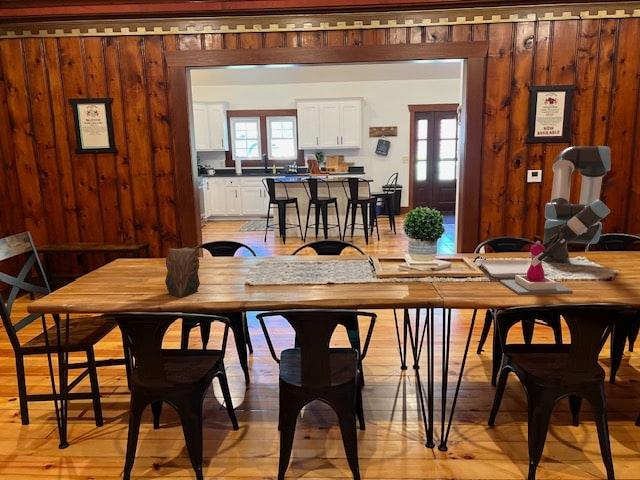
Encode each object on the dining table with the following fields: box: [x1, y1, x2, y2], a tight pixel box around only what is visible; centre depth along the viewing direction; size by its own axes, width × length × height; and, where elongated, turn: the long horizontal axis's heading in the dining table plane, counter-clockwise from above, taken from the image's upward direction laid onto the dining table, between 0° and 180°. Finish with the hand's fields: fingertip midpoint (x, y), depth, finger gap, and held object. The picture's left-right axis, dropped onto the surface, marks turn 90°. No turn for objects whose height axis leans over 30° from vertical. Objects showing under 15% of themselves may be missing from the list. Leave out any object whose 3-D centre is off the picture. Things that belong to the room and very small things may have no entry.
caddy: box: [499, 275, 573, 295], centre depth 206 cm, size 18×24×4 cm
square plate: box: [477, 259, 550, 279], centre depth 230 cm, size 27×27×4 cm
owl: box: [164, 246, 201, 299], centre depth 203 cm, size 13×13×20 cm
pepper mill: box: [527, 240, 545, 282], centre depth 205 cm, size 7×7×20 cm
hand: (531, 260), depth 205 cm, fingers open, 13 cm apart
